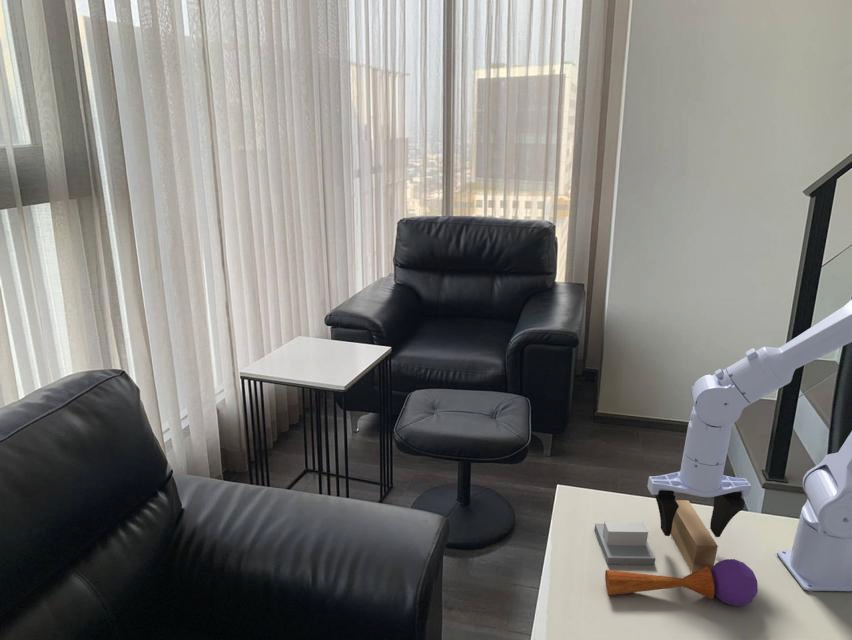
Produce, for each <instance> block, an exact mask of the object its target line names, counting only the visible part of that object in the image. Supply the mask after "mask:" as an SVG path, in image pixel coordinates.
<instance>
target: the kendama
mask: <svg viewBox="0 0 852 640" xmlns="http://www.w3.org/2000/svg"><path fill="white" fill-rule="evenodd" d="M604 580H605V588H606V592H607V595H608V596H616V595H623V594H632V593H641V592H649V591H657V590H667V589H674V588H675V589H676V588H686V589H688V590H690V591H693V592H694V593H696V594H699V595H701V596H703V597H706V598H708V599H710V600H711V599H714V597H716V598H718V599H719V601H721V602H722V603H725V604H728V605H729V606H735V607H737V606H738V607H739V606H745V605H748V604H749V603H751V602H752V601H753V600H754V598H755V597H756V595H757V594H758V579H757V578H756V575H755V573H754V571H753V569H751V568H750V567H749V566H748V565H747V564H746V563H745V562H743V561H740V560H738V559H736V558H734V559H733V558H725V559H723V560H720V561H718V562H716V563H714V567H713V568H712V569H711V571H710V569H709V567H707V566H705V567H703V568H701V569H699V570H697V571H695V572H693V573H692V572H691V573H690V574H688V575H686V576H684V577H676V576H675V577H674V576H667V575H666V576H665V575H658V574H657V575H656V574H648V573H639V572H629V571H621V570H620V571H618V570H608V569H605V571H604Z"/></svg>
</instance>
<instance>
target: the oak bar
mask: <svg viewBox="0 0 852 640" xmlns="http://www.w3.org/2000/svg"><path fill="white" fill-rule="evenodd" d="M675 500H676V502H677V504H678V505H679V507H678V509H677V511H676V513H675V516H674V519H673V523H672V530H671V534H670V536H671V538H672V539H673V541H674V543H675V545H676V546H677V548H678V550H679V552H680V554H681V556H682V558H683V560H684V561H685V563H686V565H687V567H688V569H689V570H690V572H691V573H693V572H695V571H697V570H699V569H701V568H703V567H705V566H707V567H709V569H710V571H711V569H712V568H713V567H714V565H715V564H716V563H715V561H716V558H717V551H718V547H719V545H718V544H717V543H716V541H715V539H714V538H713V536H712V535H711V533H710V531H708V529H707V527H706V525H705V524H704V522H703V521H702V519H701V518H700V516H699V514H698V513H697V512H696V510H695V508H694V507H693V505H692V504H691V502H690V501H689V500H688V499H687V500H685V499H681V500H680V499H678V500H677V499H675Z"/></svg>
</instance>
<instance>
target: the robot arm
mask: <svg viewBox="0 0 852 640" xmlns="http://www.w3.org/2000/svg"><path fill="white" fill-rule="evenodd" d="M851 343H852V299H850V300H849V301H848V302H847V303H846V304H845V305H843V306H842V307H840V308H839V309H837V310H836V311H834V312H833V313H831V314H829V316H827V317H825V318H823V319H822V320H821V321H819V322H817V323H815V325H812V326H811V327H809V328H808V329H806V330H805V331H803V332H802V333H800V334H799V335H797V336H796V337H794V338H792V339H791V340H789V341H787V342H786V343H784V344H783V345H781V346H780V347H773V346H772V347H771V346H763V347H761V348H759V349H756V348H755V347H753V348H752V347H751V348H750V349H748V350H747V351H745V355H746V356H745V357H743V358H742V359H740V360H738V361H736V362H735V363H732V364H731V365H729V366H728V367H726V368H724V369H722V368H719V369H717V370H715V371H714V373H713V374H706V375H703V376H701V377H699V378H698V379H697V380H696V381H695V382H694V385H692V386H691V387H690V389H689V390H690V396H691V399H692V401H693V406H692V410H691V412H690V420H689V422H688V424H687V425H688V426H687V430H686V436H685V443H684V447H683V453H682V460H681V466H680V470H679V471H676V472H671V473H667V474H661V475H656V476H652V475H651V476H648V480H647V488H648V491H649V492H650V494H651V496H652V495H653V496H654V498H655V500H656V503H657V506H658V511H659V518H660V519H659V521H660V529H661V531H662V533H663V534H664V535H663V536H665V537H670V536H671V530H672V523H673V519H674V516H675V513H676V511H677V509H678V507H679V505H678V504H677V502H676V500H677V499H676V496H675V493H677V494H680V493H682V494H685V495H691V496H695V497H701V498H713V507H712V513H711V518H710V526H709V529H710V531H711V532H712V534H713V536H714V537H715V538H720V537H721V535H722V534H723V532H724V531H725V529H726V527H727V525H728V524H729V523H730V522H731V520H732V519H733V518H734V516H736V515H737V514H738V513H739V512H741V511H742V510H744V508H745V505H746V504H745V503H746V502H745V500H744V499H743V497H746V498H747V497H750V493H751V489H752V485H751V483H750V482H749V481H748V480H747V478H746V477H744V478H742V477H736V476H734V477H733V476H730V475H729V476H728V475H724V471H725V466H726V461H727V456H728V450H729V445H730V442H731V441H730V440H731V436H732V427H733V424H734V423H736V422H737V421H738V420H739V418H740V417H741V415H742V412H743V410H744V409H745V408H747V407H748V406H750V405H751V404H754V403H755V402H757V401H758V400H761V399H763V398H764V397H766V396H768V395H770V394H771V393H773V392H775V391H777V390H779V389H780V388H782V387H785V386H786V385H789V384H790V383H791V382H792V381H793V376H794V373H795V371H796V370H797V369H799V368H801V367H803V366H805V365H807V364H809V363H811V362H813V361H815V360H817V359H820V358H822V357H823V356H825V355H828V354H830V353H832V352H834V351H836V350H838V349H840V348H842V347H844V346H846V345H849V344H851ZM801 484H802V489H803V491H804V492H805V495H806V496H807V499H806V502H805V504H803V506H802V508H801V511H800V515H799V519H798V523H797V527H796V531H795V535H794V538H793V539H794V540H793V544H792V548H791V550H777V551H776V555H777V557H779V559H780V560H781V561H782V563H783V564H784V566H785V567H786V568H787V570H789V572H790V574H791V575H792V576H793V577H794V579H795V580H796V581H797V582H798V584H799V585H800V586H801V588H802V589H803V590H805V591H821V592H822V591H823V592H824V591H826V592H827V591H828V592H829V591H830V592H852V431H851V432H850V433H849V434H848V436H847V438H846V439H845V441H844V443H843V444H842V446H841V447H840V448H839V450H838V452H835V453H829V454H826V455H825V456H824V458H823V459H822V460H821V461H820V463H818V464H817V465H816V466H814V467H811V468H810V469H809V470H807V472H806V473H805V474H804V476H803V478H802V483H801Z"/></svg>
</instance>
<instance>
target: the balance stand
mask: <svg viewBox="0 0 852 640" xmlns="http://www.w3.org/2000/svg"><path fill="white" fill-rule="evenodd" d="M593 530H594V532H595V535H596V538H597V541H598V543H599V546H600V548H601V551H602V553H603V556H604V559H605V562H606V564H607V565H626V566H627V565H629V566H631V565H632V566H633V565H636V566H638V565H639V566H640V565H641V566H655V564H656V557H655V555H654V553H653V551H652V548H651V546H650V545H649V543H648V537H649V531H648V529H647V527H646V525H645V523H644V522H643V521H604V522H603V523H595V524H594V529H593Z"/></svg>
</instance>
